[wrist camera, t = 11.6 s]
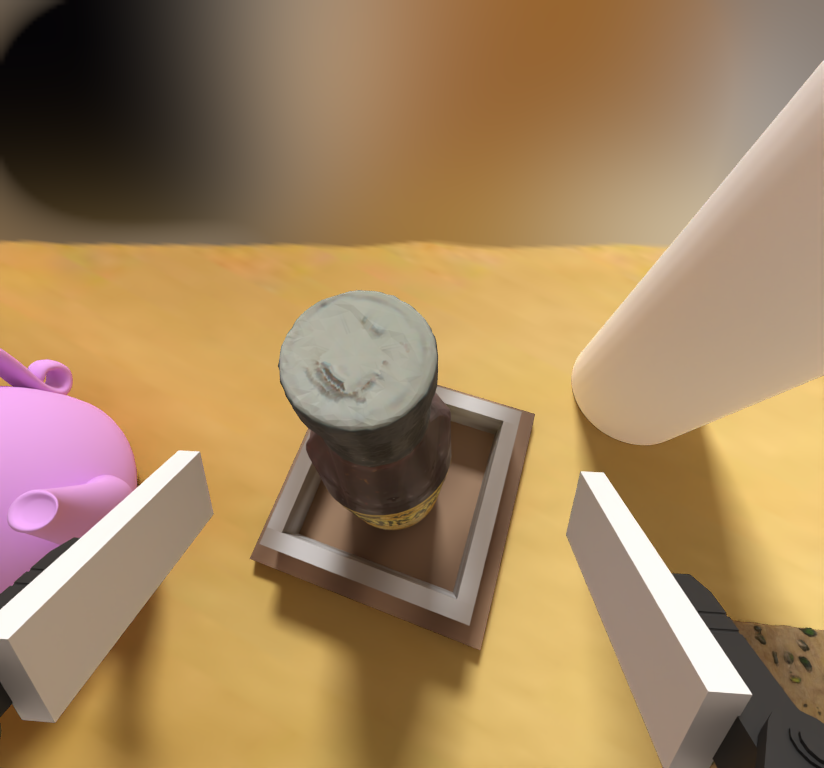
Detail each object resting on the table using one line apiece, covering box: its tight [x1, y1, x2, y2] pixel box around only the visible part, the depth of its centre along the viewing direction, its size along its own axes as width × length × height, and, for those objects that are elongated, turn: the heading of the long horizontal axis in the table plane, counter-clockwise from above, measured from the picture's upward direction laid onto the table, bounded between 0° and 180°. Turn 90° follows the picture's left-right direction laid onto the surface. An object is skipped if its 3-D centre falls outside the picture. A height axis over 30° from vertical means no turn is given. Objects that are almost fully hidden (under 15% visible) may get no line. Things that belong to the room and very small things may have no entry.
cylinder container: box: [572, 60, 824, 445], centre depth 17 cm, size 9×9×30 cm
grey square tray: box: [250, 385, 535, 650], centre depth 27 cm, size 16×16×4 cm
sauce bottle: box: [278, 290, 451, 530], centre depth 19 cm, size 6×6×20 cm
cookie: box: [709, 620, 824, 768], centre depth 23 cm, size 12×12×1 cm
